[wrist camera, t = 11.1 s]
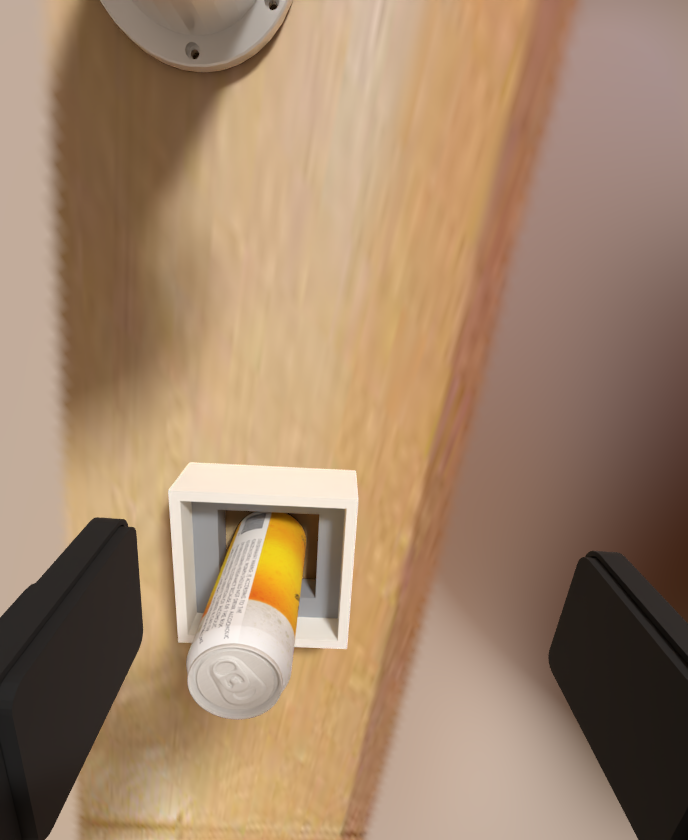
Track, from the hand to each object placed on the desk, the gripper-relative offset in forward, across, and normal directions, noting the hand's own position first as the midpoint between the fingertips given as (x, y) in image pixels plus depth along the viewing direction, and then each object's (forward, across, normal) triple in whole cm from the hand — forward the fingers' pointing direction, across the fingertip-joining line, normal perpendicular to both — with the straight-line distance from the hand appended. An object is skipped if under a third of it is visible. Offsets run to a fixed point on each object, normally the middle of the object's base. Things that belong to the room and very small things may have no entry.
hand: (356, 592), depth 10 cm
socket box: (+26, +4, +17) cm, 32 cm away
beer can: (+27, +4, +17) cm, 32 cm away
